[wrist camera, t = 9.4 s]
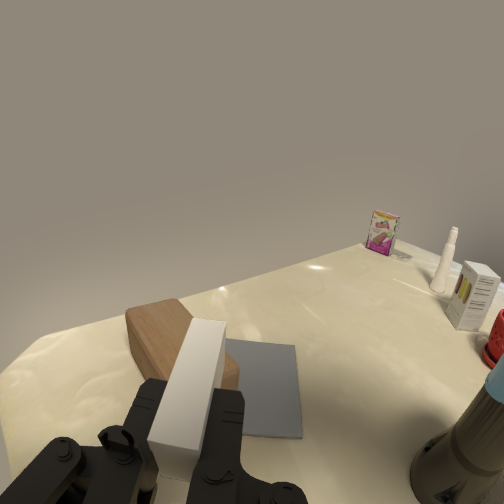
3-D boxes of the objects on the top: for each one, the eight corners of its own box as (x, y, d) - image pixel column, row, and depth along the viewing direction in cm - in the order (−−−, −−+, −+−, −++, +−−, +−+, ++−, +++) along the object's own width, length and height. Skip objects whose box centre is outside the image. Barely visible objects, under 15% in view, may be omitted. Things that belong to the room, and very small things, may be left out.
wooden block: (178, 436, 35) (130, 353, 49) (238, 410, 40) (178, 339, 55) (172, 391, 31) (122, 307, 45) (243, 365, 37) (176, 295, 51)
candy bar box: (364, 248, 119) (373, 209, 113) (369, 245, 123) (377, 209, 117) (388, 256, 112) (397, 217, 106) (392, 254, 116) (401, 216, 110)
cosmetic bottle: (433, 292, 85) (453, 229, 77) (426, 284, 90) (444, 223, 82) (447, 293, 85) (466, 231, 77) (439, 285, 90) (457, 226, 82)
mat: (294, 347, 57) (294, 345, 57) (301, 438, 37) (302, 436, 36) (183, 334, 57) (183, 332, 57) (150, 419, 37) (150, 417, 37)
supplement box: (444, 312, 73) (463, 259, 67) (466, 314, 72) (486, 264, 66) (456, 330, 64) (478, 273, 58) (479, 332, 63) (502, 278, 57)
